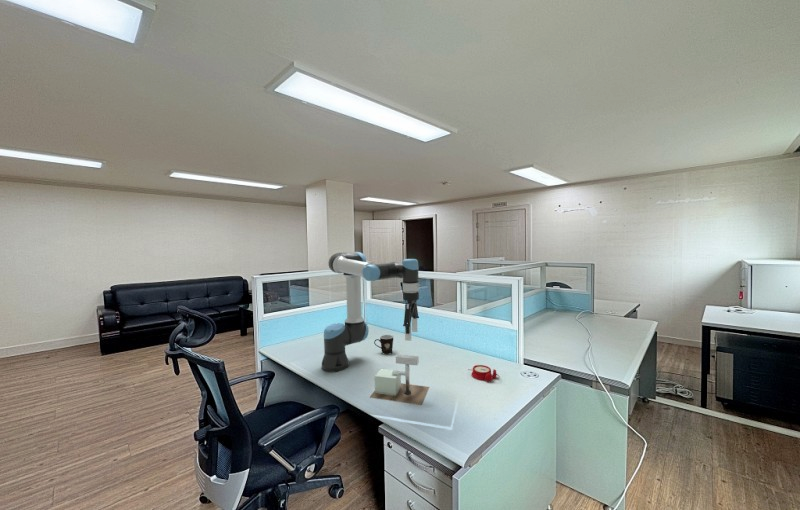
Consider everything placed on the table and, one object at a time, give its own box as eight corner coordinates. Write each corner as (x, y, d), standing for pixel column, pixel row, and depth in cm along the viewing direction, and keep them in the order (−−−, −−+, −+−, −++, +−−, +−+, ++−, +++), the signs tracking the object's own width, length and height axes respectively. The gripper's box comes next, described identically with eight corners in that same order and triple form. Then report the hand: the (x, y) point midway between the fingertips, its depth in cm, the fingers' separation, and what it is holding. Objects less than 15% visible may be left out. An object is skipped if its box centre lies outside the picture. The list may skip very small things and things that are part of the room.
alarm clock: (476, 363, 166) (501, 364, 155) (478, 374, 165) (504, 377, 154) (465, 368, 158) (491, 370, 148) (468, 381, 158) (493, 384, 147)
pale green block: (374, 393, 139) (374, 376, 139) (381, 384, 147) (380, 368, 147) (395, 396, 136) (395, 378, 136) (401, 387, 144) (400, 371, 144)
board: (369, 399, 136) (369, 395, 136) (382, 382, 151) (382, 379, 151) (421, 407, 129) (421, 403, 129) (429, 388, 144) (429, 385, 144)
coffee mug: (395, 350, 196) (395, 335, 195) (390, 355, 187) (390, 339, 187) (379, 348, 199) (378, 333, 199) (373, 353, 191) (373, 337, 191)
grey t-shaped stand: (391, 390, 140) (391, 356, 139) (393, 387, 142) (393, 353, 142) (417, 394, 136) (417, 358, 135) (419, 391, 139) (418, 356, 138)
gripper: (412, 296, 130) (413, 344, 131) (423, 287, 154) (424, 328, 155) (396, 295, 132) (397, 343, 133) (409, 287, 156) (409, 328, 157)
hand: (411, 335), depth 144 cm, fingers open, 13 cm apart
